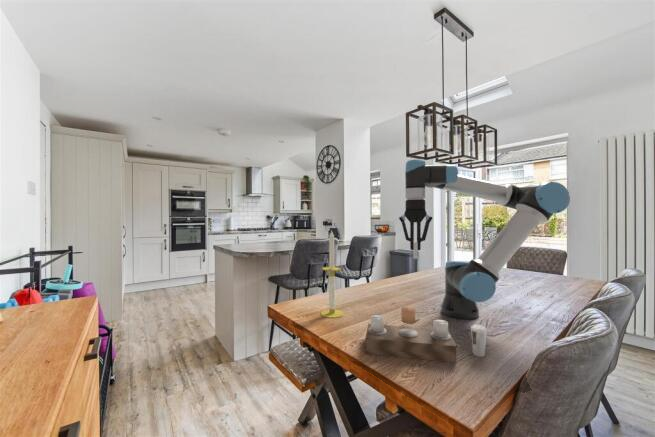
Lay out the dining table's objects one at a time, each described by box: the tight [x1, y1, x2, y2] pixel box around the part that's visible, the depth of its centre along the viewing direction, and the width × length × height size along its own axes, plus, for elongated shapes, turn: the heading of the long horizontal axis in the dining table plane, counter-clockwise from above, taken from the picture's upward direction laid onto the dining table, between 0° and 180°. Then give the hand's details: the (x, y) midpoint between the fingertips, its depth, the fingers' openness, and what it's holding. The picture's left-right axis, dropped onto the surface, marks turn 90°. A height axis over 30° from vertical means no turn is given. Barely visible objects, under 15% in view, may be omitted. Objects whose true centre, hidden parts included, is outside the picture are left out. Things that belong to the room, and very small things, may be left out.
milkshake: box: [468, 323, 488, 358], centre depth 90 cm, size 4×5×10 cm
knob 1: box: [370, 314, 385, 332], centre depth 96 cm, size 4×4×4 cm
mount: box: [364, 323, 457, 364], centre depth 94 cm, size 27×12×5 cm, turn 77°
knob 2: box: [432, 319, 449, 338], centre depth 92 cm, size 4×4×4 cm
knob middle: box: [400, 306, 416, 325], centre depth 94 cm, size 4×4×4 cm
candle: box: [320, 229, 344, 319], centre depth 126 cm, size 10×10×38 cm
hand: (415, 258), depth 114 cm, fingers closed
